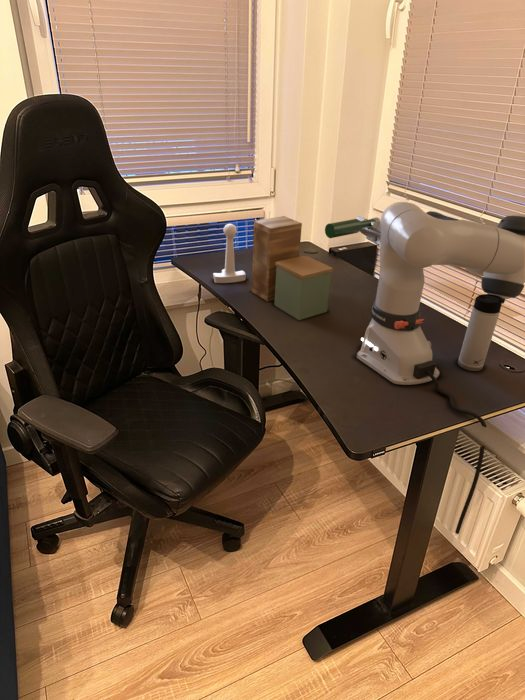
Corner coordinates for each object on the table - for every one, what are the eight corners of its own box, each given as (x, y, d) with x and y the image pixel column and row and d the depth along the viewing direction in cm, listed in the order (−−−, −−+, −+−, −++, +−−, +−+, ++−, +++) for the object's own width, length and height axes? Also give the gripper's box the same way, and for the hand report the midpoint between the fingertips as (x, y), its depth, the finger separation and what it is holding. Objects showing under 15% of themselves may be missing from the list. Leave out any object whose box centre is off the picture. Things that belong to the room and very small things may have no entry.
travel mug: (479, 374, 130) (501, 304, 119) (454, 366, 133) (473, 296, 123) (486, 365, 134) (508, 296, 124) (462, 356, 137) (481, 288, 127)
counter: (328, 311, 158) (333, 268, 151) (298, 320, 152) (302, 275, 145) (301, 297, 167) (305, 255, 160) (272, 305, 161) (275, 261, 154)
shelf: (296, 293, 169) (302, 223, 157) (267, 301, 163) (271, 228, 151) (280, 284, 175) (284, 216, 163) (251, 291, 169) (253, 220, 157)
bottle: (333, 240, 152) (335, 225, 150) (324, 235, 155) (325, 221, 153) (381, 230, 163) (383, 216, 160) (371, 226, 166) (373, 213, 163)
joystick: (215, 283, 174) (215, 226, 164) (210, 275, 180) (210, 220, 170) (246, 281, 177) (248, 224, 167) (240, 273, 183) (241, 218, 173)
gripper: (409, 255, 164) (387, 240, 154) (364, 238, 178) (341, 223, 168) (419, 237, 162) (397, 221, 153) (372, 221, 177) (350, 205, 167)
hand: (367, 222), depth 161 cm, fingers closed on bottle, 2 cm apart
